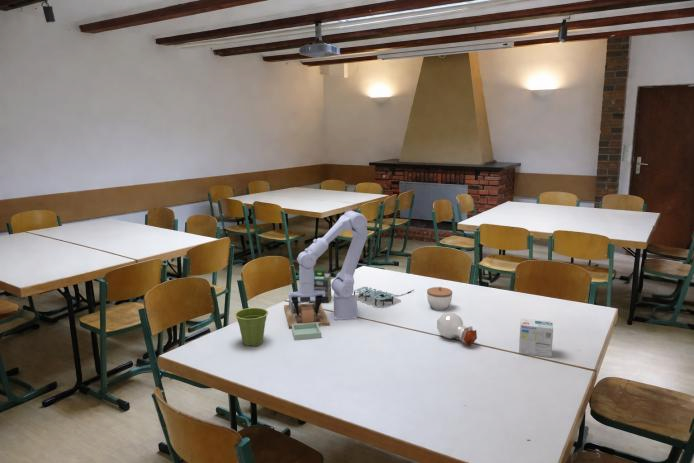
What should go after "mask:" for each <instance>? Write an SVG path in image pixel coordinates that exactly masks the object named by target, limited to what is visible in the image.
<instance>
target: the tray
mask: <svg viewBox="0 0 694 463" xmlns="http://www.w3.org/2000/svg"><path fill="white" fill-rule="evenodd" d="M291 332H292V336H293V339H294V341H300V340H301V341H302V340H303V341H304V340H313V339H322V331H321V328H320V326H318V323H308V324H295V325H292V329H291Z"/></svg>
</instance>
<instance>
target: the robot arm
mask: <svg viewBox="0 0 694 463" xmlns="http://www.w3.org/2000/svg"><path fill="white" fill-rule="evenodd" d="M367 224H368V220H367V218H366V216H365V215H364V214H363V213H359V212H356V211H354V210H346V211H345V212H344V214H342V215H341V216H340V217H339V218H338V220H337V221H336V222H335V223H334V225H333V226H332V227H330V229H329V230H328V231H327V232H326V234H324V235H323V236H322V237H318V238H317V239H316V238H314V239H313V240H312V243H311V244H310V245H309V246H308V247H307V248H305V249H304V251H301V252H300V253H299V254H298V256H297V258H296V262H297V263H298V264H299V266H298V268H299V269H298V271H299V272H298V273H299V274H298V278H299V280H298V281H299V283H298V284H299V291H298V290H297V291H292V292H288V293H287V294H288V300H289V299H292V302H293V305H294V306H295V309H296V314H297V316H299V311H298V304H299V303H298V298H301V297H315V302H316V306H315V313H316V314H318V310H319V307H320V304H321V305H322V303H321V302H322V300H323V297H324V296H325V291H324V290H323V291H319V290H314V270H315V269H314V266H316V264H317V260H318V259H319V257H321V256H322V255H323V254H324V253H325V252H326V251H327V250H328V249H329V245H330V243H331V242H333V240H334V239H336V238H337V237H338V236H339V235H340V234H341V233H342V232H344V231H350V232H351V233H352V236H353V237H352V239H351V242H350V244H349V248H348V250H347V253H346V256H345V259H344V260H343V264H342V267H341V270H340V271H339V272H338V273H337V274H336V276H335V278H334V279H333V280H331V290H332V291H333V312H331V315H332V317H333V319H334V321H340V320H341V321H342V320H354V319H358V301H357V299H356V296H355V295H356V294H355V295H354V290H355V289H354V284H355V279H354V278H355V277H354V275H355V272H356V268H357V267H358V263H359V260H360V258H361V255H362V254H363V253H362V252H363V250H364V247H365V243H366V241H367V239H368V227H367V226H368V225H367ZM322 296H323V297H322Z"/></svg>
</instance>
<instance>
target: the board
mask: <svg viewBox="0 0 694 463" xmlns="http://www.w3.org/2000/svg"><path fill="white" fill-rule="evenodd" d="M309 306H312V307H313V310H314V322H313V323H318V326H319V327H327V326H328V327H329V326H330V320H329V318H328V316H327V314H326V311H325V308H324V307H323V304H322V303H321V304H320V307H319V311H320V312H318V314H316V313H315V305H314V303H309V302H307V303H298V311H299V316H297V314H296V309H295V306H294V304H293V311H294V314H291V310H290V306H289V304H284V305H283V310H284V315H285V319H286V322H287V327H288V330H292V325H295V324H308V323H302V321H301V307H309Z"/></svg>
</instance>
